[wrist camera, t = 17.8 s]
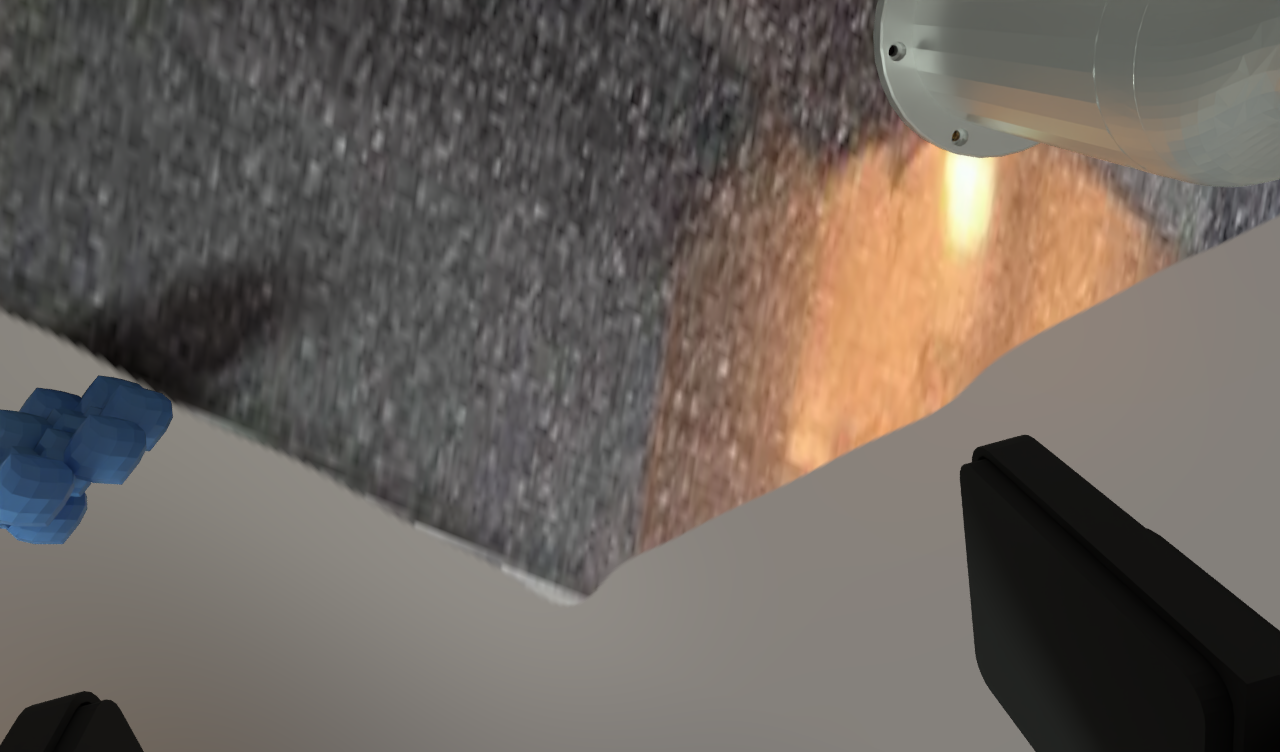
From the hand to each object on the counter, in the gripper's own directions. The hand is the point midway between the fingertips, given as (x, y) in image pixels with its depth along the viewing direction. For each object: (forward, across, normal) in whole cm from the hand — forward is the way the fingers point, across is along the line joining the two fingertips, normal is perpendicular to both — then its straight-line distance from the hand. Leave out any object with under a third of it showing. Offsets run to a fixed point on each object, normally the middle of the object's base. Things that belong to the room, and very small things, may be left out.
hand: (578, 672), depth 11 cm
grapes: (+38, +23, +8) cm, 46 cm away
